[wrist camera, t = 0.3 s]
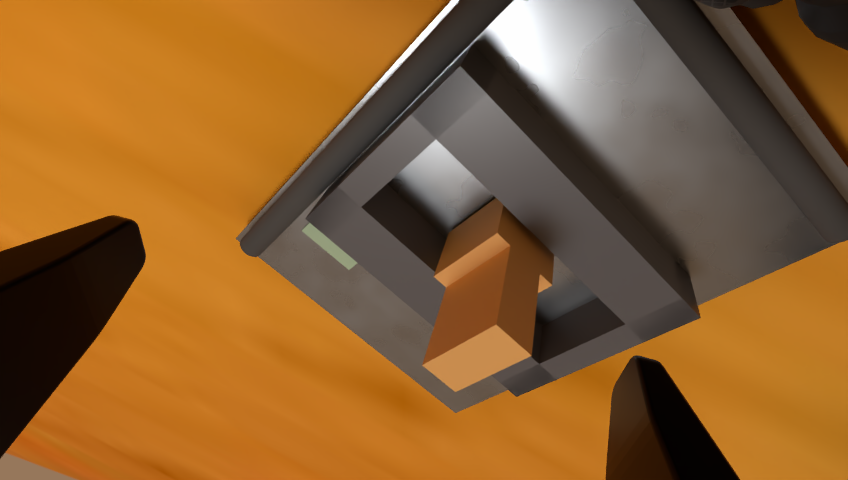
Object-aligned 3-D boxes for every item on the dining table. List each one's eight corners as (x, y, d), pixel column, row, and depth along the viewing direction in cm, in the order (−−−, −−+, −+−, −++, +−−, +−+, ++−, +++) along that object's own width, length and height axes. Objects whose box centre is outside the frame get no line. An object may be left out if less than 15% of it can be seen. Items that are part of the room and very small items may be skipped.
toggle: (555, 238, 22) (546, 368, 16) (495, 275, 24) (469, 403, 18) (506, 190, 21) (480, 310, 15) (448, 232, 23) (406, 353, 17)
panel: (872, 202, 19) (887, 220, 18) (459, 396, 32) (455, 412, 31) (601, -166, 15) (601, -166, 14) (247, 225, 28) (235, 238, 27)
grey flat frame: (854, 211, 18) (868, 230, 18) (455, 397, 30) (451, 415, 29) (588, -140, 15) (588, -139, 14) (247, 231, 26) (235, 245, 25)
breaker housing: (690, 277, 22) (700, 317, 20) (481, 377, 28) (474, 414, 27) (472, 43, 18) (460, 65, 16) (295, 221, 25) (272, 251, 23)
